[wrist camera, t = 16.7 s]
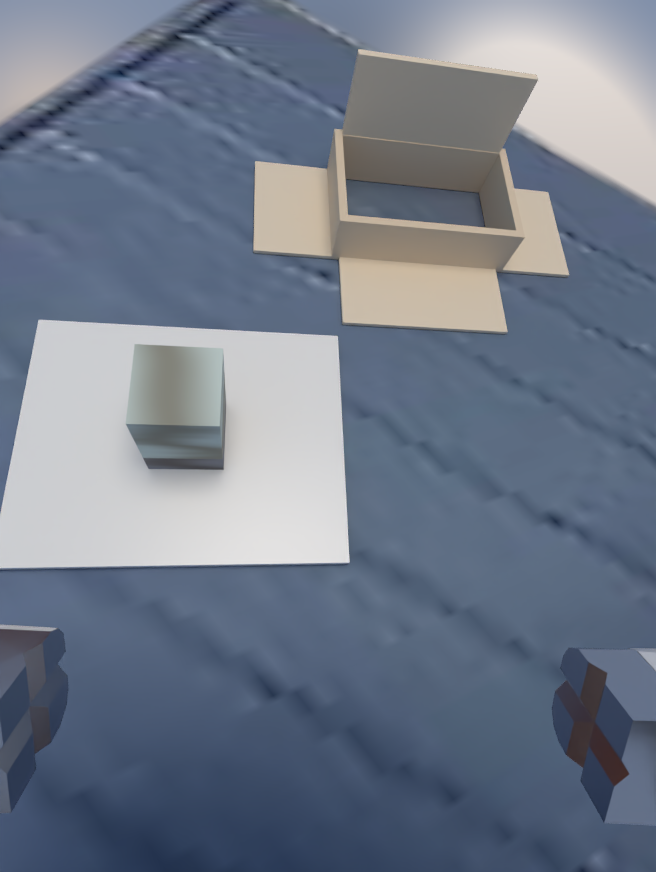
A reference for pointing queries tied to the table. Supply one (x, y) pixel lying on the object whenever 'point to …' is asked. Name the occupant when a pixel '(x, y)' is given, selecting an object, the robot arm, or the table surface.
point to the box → (178, 406)
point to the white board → (176, 488)
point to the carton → (424, 167)
